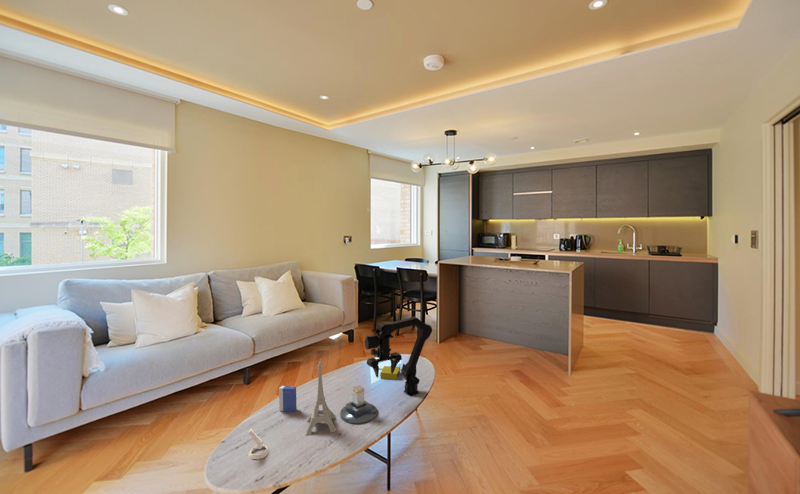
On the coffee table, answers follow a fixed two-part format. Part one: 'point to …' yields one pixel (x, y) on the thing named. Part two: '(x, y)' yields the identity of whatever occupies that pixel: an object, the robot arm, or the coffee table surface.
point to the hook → (259, 446)
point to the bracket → (389, 373)
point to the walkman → (287, 398)
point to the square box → (358, 397)
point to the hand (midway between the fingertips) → (384, 375)
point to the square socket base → (358, 413)
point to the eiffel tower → (320, 409)
